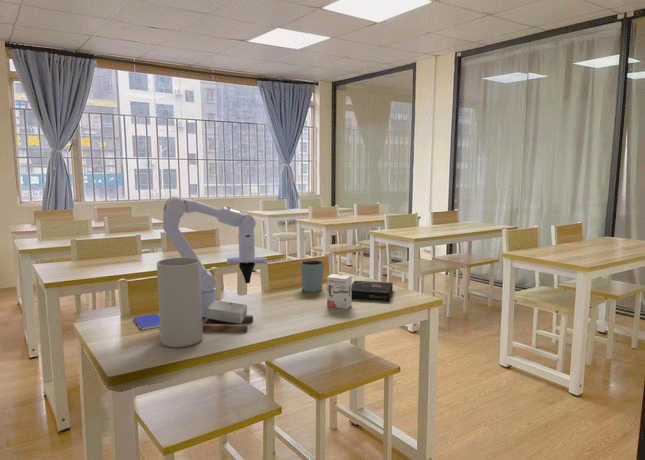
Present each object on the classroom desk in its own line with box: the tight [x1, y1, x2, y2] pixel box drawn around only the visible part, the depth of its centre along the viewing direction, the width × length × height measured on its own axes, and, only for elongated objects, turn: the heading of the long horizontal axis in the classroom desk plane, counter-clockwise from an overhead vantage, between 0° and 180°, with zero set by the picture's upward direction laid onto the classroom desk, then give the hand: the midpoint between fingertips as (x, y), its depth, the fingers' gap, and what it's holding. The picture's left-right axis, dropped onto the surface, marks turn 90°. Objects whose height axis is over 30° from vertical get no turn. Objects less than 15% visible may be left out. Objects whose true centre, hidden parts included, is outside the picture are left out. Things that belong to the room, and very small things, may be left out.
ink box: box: [326, 273, 353, 310], centre depth 182 cm, size 9×5×12 cm, turn 68°
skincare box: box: [208, 299, 248, 324], centre depth 163 cm, size 6×4×12 cm
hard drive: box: [133, 313, 160, 331], centre depth 165 cm, size 2×8×12 cm
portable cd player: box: [351, 280, 394, 303], centre depth 199 cm, size 16×17×4 cm
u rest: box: [202, 314, 254, 333], centre depth 161 cm, size 15×11×2 cm
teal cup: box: [300, 259, 325, 293], centre depth 207 cm, size 10×10×12 cm
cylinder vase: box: [156, 257, 204, 349], centre depth 146 cm, size 12×12×25 cm
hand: (247, 282), depth 178 cm, fingers closed
